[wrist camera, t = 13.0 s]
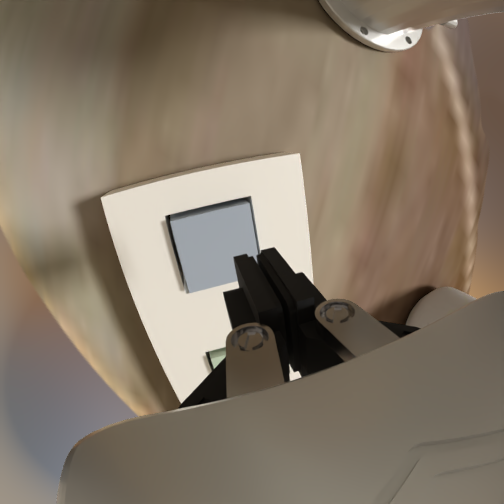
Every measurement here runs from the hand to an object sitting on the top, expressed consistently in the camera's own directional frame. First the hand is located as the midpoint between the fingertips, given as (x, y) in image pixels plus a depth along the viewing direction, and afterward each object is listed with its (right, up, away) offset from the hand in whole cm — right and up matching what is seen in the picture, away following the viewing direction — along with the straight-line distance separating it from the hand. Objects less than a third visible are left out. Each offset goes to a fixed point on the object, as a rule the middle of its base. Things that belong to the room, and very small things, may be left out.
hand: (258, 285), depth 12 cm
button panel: (-2, -7, +14) cm, 16 cm away
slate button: (-3, +2, +9) cm, 9 cm away
